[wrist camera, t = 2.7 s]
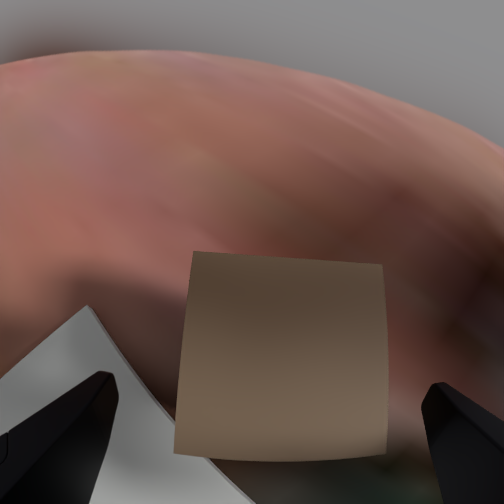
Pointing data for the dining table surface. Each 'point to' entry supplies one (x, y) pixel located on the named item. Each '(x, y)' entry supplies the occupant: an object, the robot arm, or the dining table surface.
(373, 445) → the walnut block
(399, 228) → the dining table surface
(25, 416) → the grey mat
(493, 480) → the robot arm
